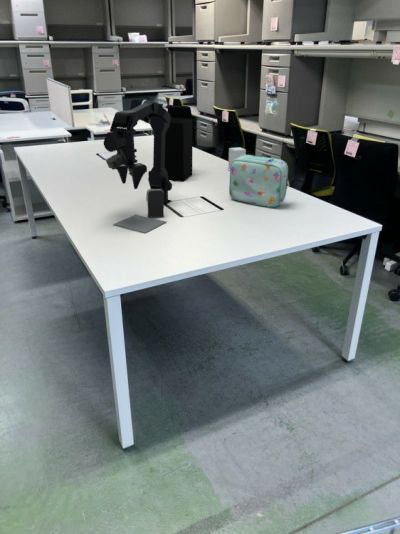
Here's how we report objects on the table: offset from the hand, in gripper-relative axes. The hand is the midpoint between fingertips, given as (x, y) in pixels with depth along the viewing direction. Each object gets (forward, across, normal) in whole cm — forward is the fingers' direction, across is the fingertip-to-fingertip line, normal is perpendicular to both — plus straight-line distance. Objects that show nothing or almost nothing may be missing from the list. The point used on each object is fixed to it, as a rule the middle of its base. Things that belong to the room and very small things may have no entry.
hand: (129, 186), depth 174 cm
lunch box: (+15, +16, +57) cm, 61 cm away
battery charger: (+14, +4, +8) cm, 17 cm away
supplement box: (+16, -33, +88) cm, 96 cm away
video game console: (+15, -41, +51) cm, 67 cm away
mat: (+13, +8, -1) cm, 16 cm away
